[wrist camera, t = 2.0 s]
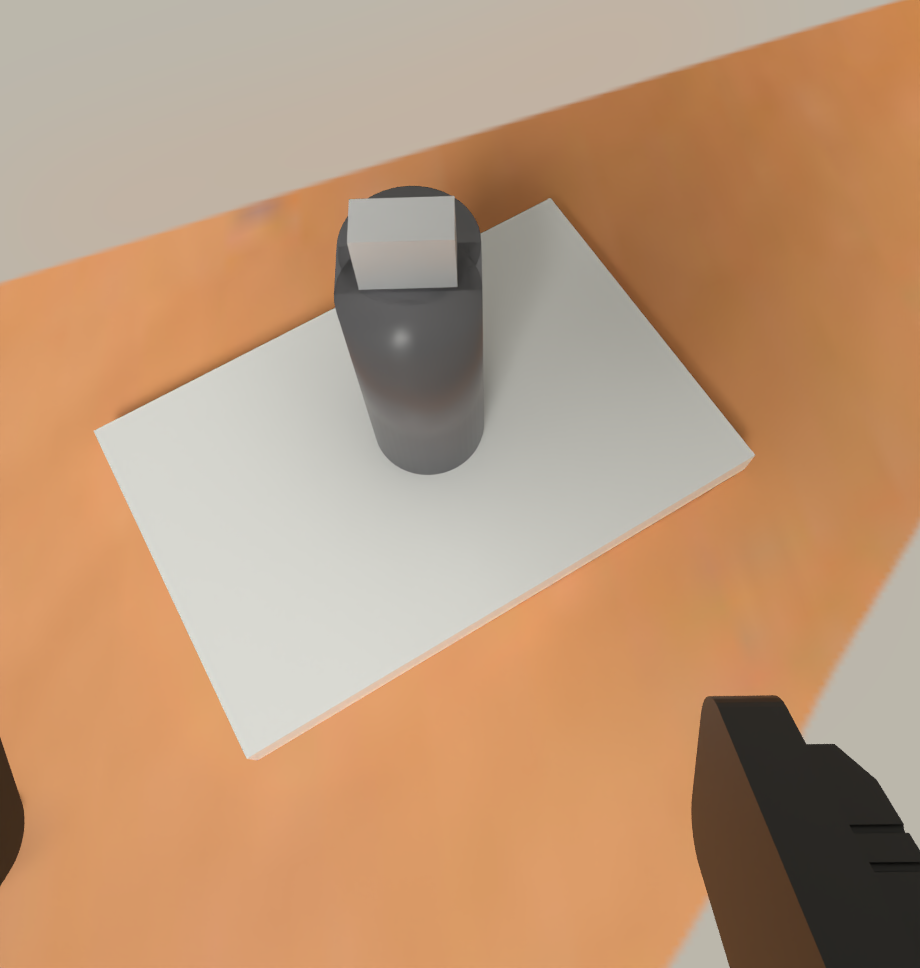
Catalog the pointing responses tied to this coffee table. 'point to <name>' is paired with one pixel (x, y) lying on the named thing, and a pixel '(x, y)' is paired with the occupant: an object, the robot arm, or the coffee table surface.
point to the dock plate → (409, 485)
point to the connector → (415, 323)
